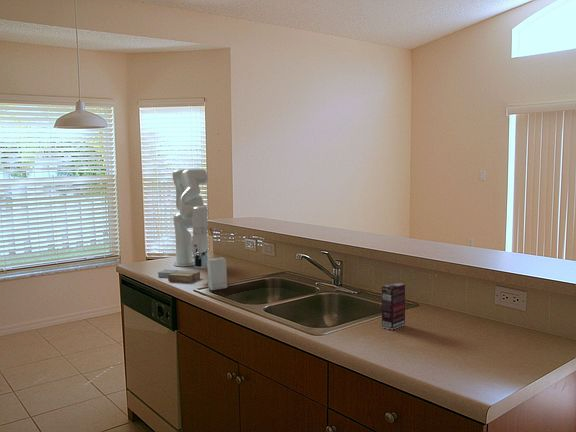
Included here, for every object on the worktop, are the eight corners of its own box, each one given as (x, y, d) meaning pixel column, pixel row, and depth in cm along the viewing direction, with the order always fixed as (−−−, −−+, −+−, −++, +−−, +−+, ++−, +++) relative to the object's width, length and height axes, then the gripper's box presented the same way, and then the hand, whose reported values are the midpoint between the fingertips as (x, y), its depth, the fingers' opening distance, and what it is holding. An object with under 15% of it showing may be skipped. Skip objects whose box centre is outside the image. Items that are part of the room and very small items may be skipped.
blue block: (199, 265, 275) (198, 254, 274) (207, 266, 273) (207, 254, 272) (194, 267, 270) (194, 256, 269) (203, 268, 269) (202, 256, 268)
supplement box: (394, 323, 200) (395, 281, 198) (405, 325, 196) (406, 284, 194) (380, 328, 194) (381, 285, 192) (391, 331, 190) (392, 288, 189)
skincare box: (223, 286, 262) (223, 256, 261) (227, 288, 257) (227, 258, 255) (207, 287, 259) (206, 258, 257) (211, 290, 253) (210, 260, 252)
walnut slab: (180, 277, 285) (179, 270, 284) (199, 278, 281) (199, 271, 280) (168, 282, 273) (168, 274, 273) (188, 283, 269) (188, 276, 269)
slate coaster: (165, 274, 292) (165, 269, 292) (178, 275, 290) (178, 270, 290) (158, 277, 284) (158, 272, 284) (171, 278, 282) (171, 273, 282)
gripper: (201, 227, 278) (202, 261, 281) (185, 232, 262) (186, 268, 265) (214, 228, 276) (215, 262, 278) (198, 233, 260) (199, 269, 262)
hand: (200, 264), depth 272 cm, fingers closed on blue block, 5 cm apart
